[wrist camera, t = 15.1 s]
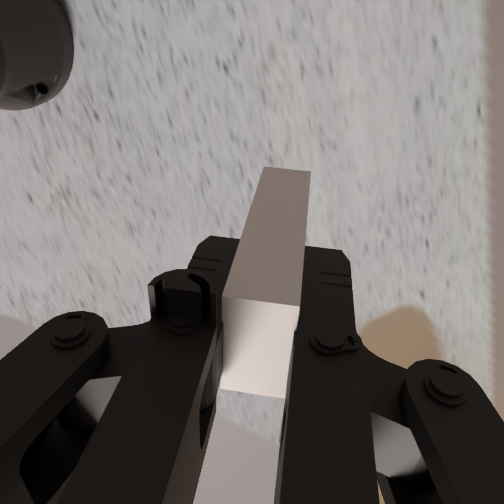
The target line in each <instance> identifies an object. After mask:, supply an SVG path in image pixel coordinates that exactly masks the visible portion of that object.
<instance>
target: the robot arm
mask: <svg viewBox="0 0 504 504" xmlns="http://www.w3.org/2000/svg"><path fill="white" fill-rule="evenodd" d="M72 61H73V42H72V35H71V30H70V26H69V23H68V20H67V17H66V14H65V12H64V9H63V7H62V5H61V3H60V1H59V0H0V109H3V110H24V109H29V108H32V107H35V106H38V105H40V104H42V103H44V102H47V101H48V100H50V99H52V98H53V97H55V96H56V95H57V94H58V93H59V92H60V91H61V90H62V88H63V87H64V85H65V84H66V82H67V80H68V77H69V75H70V72H71V67H72ZM310 175H311V172H310V171H301V170H291V169H281V168H272V167H264V168H263V171H262V174H261V177H260V180H259V183H258V187H257V190H256V193H255V196H254V199H253V202H252V205H251V208H250V211H249V214H248V217H247V220H246V223H245V226H244V230H243V233H242V236H241V239H234V238H226V237H218V236H209V237H208V238H206V239H205V240H204V241H202V242H201V243H200V244H198V246H197V248H196V250H195V252H194V254H193V256H192V259H191V261H190V263H189V265H188V269H176V270H172V271H168V272H164V273H162V274H161V275H159V276H157V277H155V278H154V279H153V280H152V281H151V282H150V283H149V284H148V294H149V303H150V312H151V319H150V321H148V322H146V323H143V324H139V325H133V326H125V327H115V328H108V326H107V324H106V323H105V321H104V319H103V318H102V317H100V316H98V315H97V314H95V313H91V312H86V311H76V312H68V313H65V314H62V315H59V316H56V317H54V318H52V319H51V320H49V321H48V322H46V323H44V324H43V325H42V326H41V327H39V328H38V329H37V330H36V331H35V332H33V333H32V334H31V335H30V336H29V337H27V338H26V339H25V340H24V341H23V342H21V343H20V344H19V345H18V346H17V347H15V348H14V349H13V350H12V351H11V352H9V353H8V354H7V355H6V356H5V357H3V358H2V359H1V360H0V504H193V501H194V497H195V493H196V488H197V484H198V481H199V477H200V473H201V469H202V465H203V460H204V456H205V453H206V449H207V444H208V440H209V437H210V433H211V429H212V425H213V421H214V417H215V413H216V394H217V390H218V387H219V383H220V379H221V389H226V390H233V391H239V392H245V393H252V394H258V395H265V396H271V397H278V398H284V399H285V406H284V413H283V420H282V426H281V433H280V440H279V442H280V449H279V459H278V468H277V478H276V488H275V497H274V504H379V494H378V484H379V487H380V490H381V493H382V496H383V499H384V501H385V504H504V422H503V420H502V419H501V417H500V416H499V414H498V412H497V411H496V409H495V408H494V406H493V405H492V403H491V402H490V400H489V399H488V397H487V396H486V394H485V393H484V391H483V390H482V388H481V387H480V385H479V384H478V383H477V382H476V381H475V380H474V379H473V378H472V377H471V375H469V374H468V373H466V372H465V371H463V370H462V369H460V368H459V367H457V366H455V365H452V364H450V363H447V362H445V361H442V360H433V359H425V360H421V361H416V362H415V363H414V364H412V365H411V366H410V367H409V368H408V369H405V368H403V367H400V366H398V365H395V364H393V363H390V362H388V361H385V360H384V359H382V358H380V357H377V356H376V355H375V354H373V353H372V352H370V351H369V350H368V349H367V348H366V347H365V346H364V345H363V343H362V340H361V338H360V336H359V335H358V334H357V332H356V326H355V314H354V302H353V290H352V278H351V266H350V261H349V260H348V259H347V257H346V256H345V255H344V253H343V252H342V250H336V249H328V248H319V247H311V246H305V238H306V225H307V213H308V200H309V187H310ZM377 481H378V483H377Z"/></svg>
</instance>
